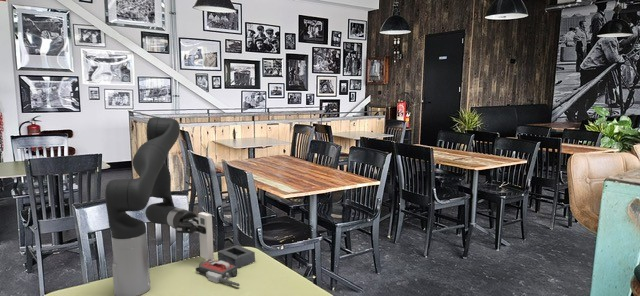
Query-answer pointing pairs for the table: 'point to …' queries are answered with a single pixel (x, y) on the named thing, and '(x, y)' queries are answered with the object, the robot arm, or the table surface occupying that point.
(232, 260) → the holder
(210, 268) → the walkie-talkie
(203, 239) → the white tall block
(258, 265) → the table surface
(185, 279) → the table surface
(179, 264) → the table surface
